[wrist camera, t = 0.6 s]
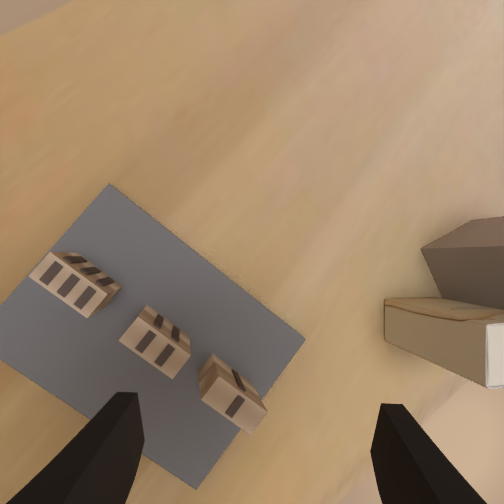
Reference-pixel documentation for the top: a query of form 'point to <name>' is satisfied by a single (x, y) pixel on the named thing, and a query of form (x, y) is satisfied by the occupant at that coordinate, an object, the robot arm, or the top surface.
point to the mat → (122, 316)
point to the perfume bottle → (470, 263)
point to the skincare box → (450, 336)
